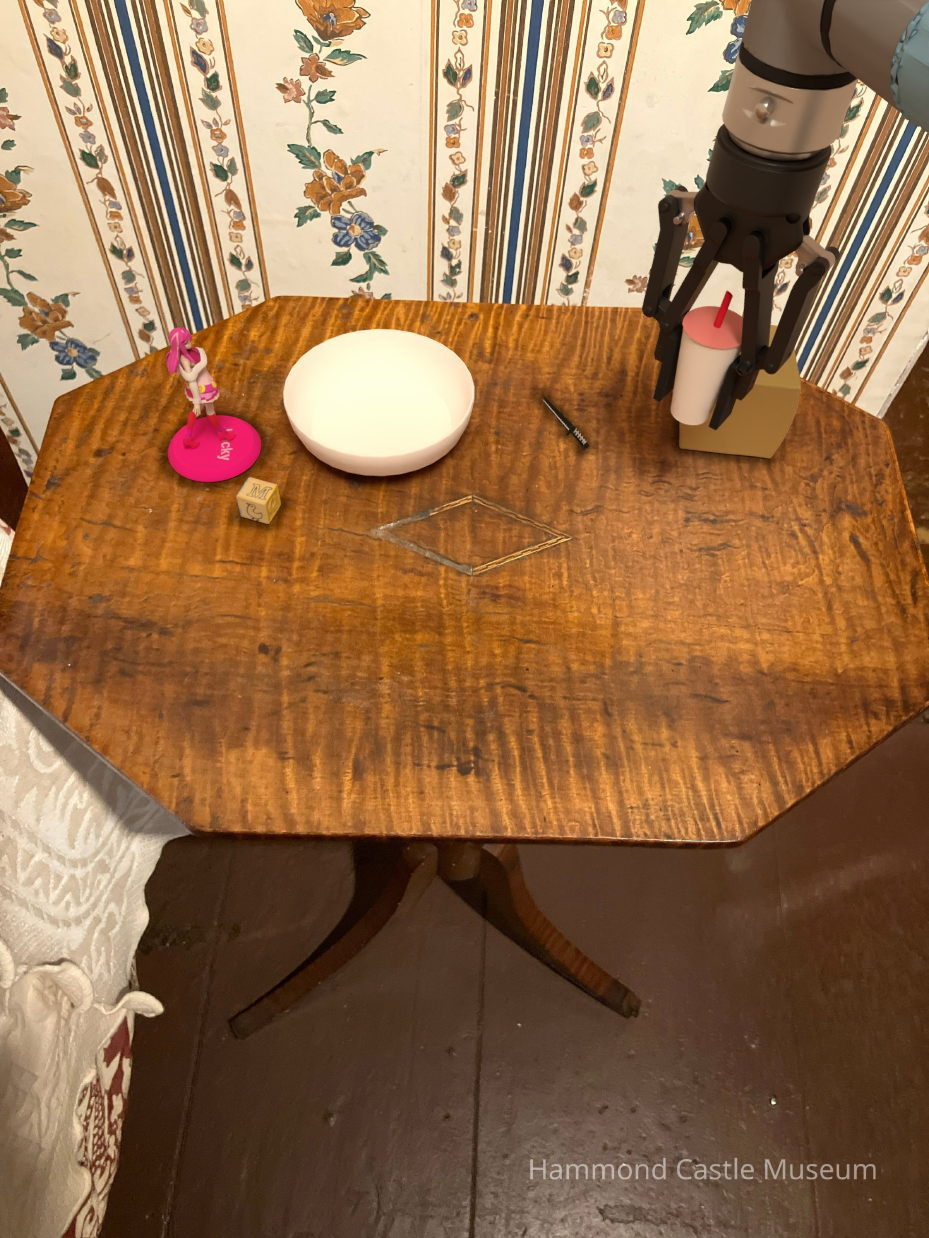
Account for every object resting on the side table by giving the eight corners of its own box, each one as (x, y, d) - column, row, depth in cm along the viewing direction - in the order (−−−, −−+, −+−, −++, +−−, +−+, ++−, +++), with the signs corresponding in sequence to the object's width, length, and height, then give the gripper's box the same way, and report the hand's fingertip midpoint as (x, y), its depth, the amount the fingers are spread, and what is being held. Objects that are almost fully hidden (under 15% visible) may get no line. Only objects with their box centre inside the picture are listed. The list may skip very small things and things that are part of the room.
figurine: (262, 478, 90) (235, 359, 78) (166, 487, 89) (122, 368, 77) (260, 414, 96) (234, 293, 83) (169, 421, 95) (129, 301, 82)
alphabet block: (254, 496, 89) (248, 475, 86) (282, 504, 88) (278, 482, 86) (240, 518, 87) (234, 497, 85) (269, 525, 87) (264, 504, 84)
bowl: (446, 362, 101) (446, 316, 96) (495, 481, 91) (498, 437, 86) (277, 389, 98) (269, 343, 93) (308, 516, 87) (300, 473, 82)
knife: (533, 397, 99) (533, 394, 98) (545, 393, 99) (545, 390, 99) (578, 452, 94) (579, 450, 93) (591, 448, 94) (591, 445, 94)
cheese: (675, 388, 100) (696, 313, 92) (770, 399, 99) (800, 324, 91) (674, 452, 94) (697, 378, 86) (776, 464, 93) (809, 390, 85)
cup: (720, 396, 78) (761, 276, 69) (720, 437, 75) (763, 318, 66) (660, 387, 79) (692, 268, 69) (658, 428, 76) (691, 309, 66)
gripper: (630, 110, 59) (582, 384, 78) (883, 206, 53) (764, 477, 72) (686, 71, 62) (627, 342, 81) (929, 157, 56) (804, 428, 75)
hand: (691, 405), depth 77 cm, fingers closed on cup, 5 cm apart
